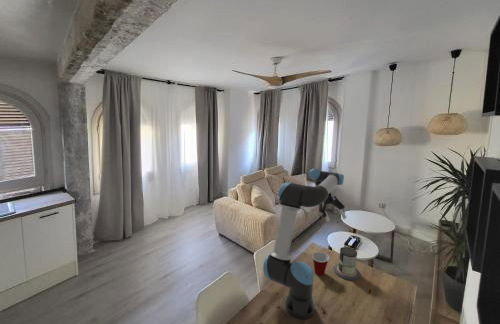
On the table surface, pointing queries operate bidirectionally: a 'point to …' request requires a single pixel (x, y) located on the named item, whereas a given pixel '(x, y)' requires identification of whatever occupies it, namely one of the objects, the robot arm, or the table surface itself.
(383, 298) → the table surface
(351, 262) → the coffee can
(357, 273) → the round plate
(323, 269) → the plastic cup
